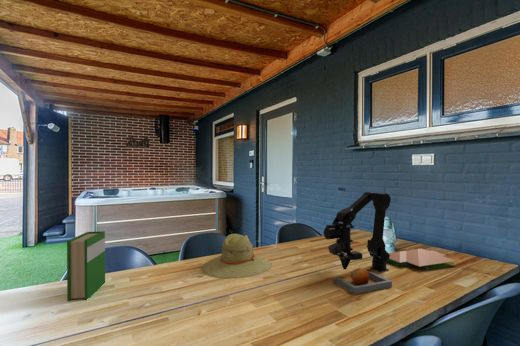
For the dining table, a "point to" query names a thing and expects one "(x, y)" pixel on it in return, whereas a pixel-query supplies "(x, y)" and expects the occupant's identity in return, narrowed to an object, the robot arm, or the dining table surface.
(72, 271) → the hardback book
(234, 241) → the straw hat
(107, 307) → the dining table surface
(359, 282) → the fruit
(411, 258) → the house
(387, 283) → the corral
